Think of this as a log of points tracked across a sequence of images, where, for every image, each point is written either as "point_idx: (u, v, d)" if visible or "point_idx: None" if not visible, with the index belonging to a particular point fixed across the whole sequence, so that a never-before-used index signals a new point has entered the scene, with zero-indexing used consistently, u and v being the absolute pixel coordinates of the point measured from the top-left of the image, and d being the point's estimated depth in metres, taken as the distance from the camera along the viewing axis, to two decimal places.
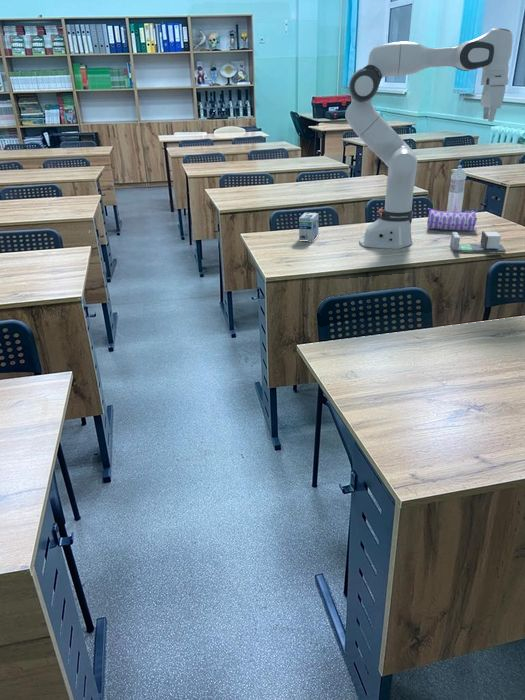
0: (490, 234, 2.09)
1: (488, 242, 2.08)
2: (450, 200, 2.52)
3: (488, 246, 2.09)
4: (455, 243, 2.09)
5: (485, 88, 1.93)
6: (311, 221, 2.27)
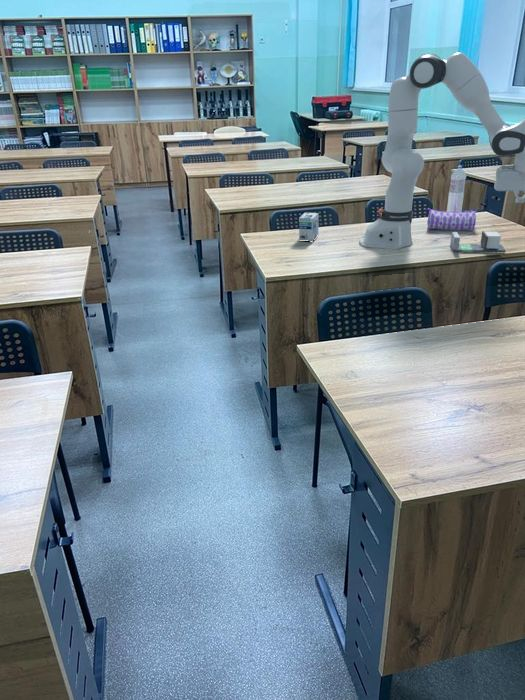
0: (490, 234, 2.09)
1: (488, 242, 2.08)
2: (450, 200, 2.52)
3: (488, 246, 2.09)
4: (455, 243, 2.09)
5: None
6: (311, 221, 2.27)
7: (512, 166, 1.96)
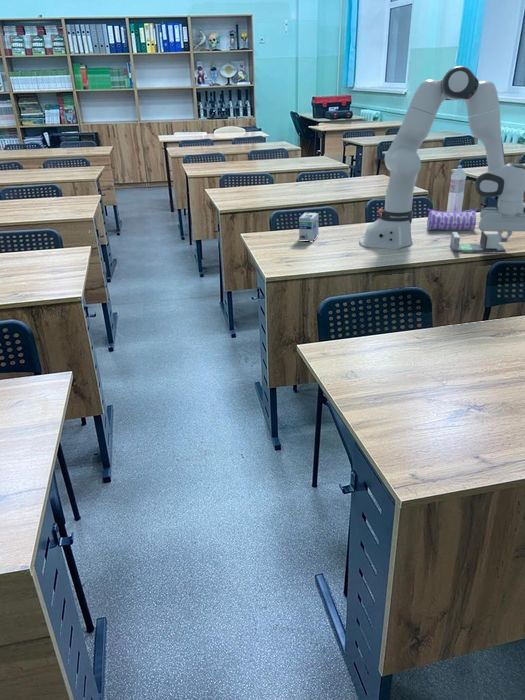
0: (489, 234, 2.09)
1: (487, 242, 2.08)
2: (450, 200, 2.52)
3: (487, 246, 2.09)
4: (455, 243, 2.09)
5: (513, 216, 2.02)
6: (311, 221, 2.27)
7: (495, 208, 2.04)
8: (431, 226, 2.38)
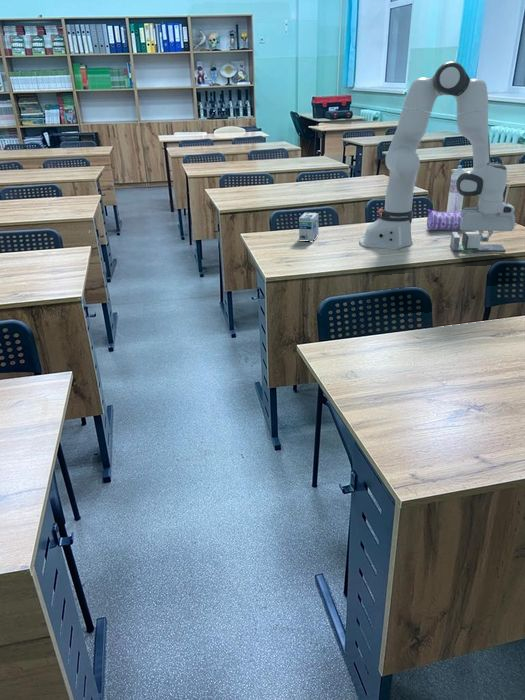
0: (470, 234, 2.10)
1: (468, 242, 2.09)
2: (450, 200, 2.52)
3: (469, 246, 2.10)
4: (455, 243, 2.09)
5: (493, 215, 2.03)
6: (311, 221, 2.27)
7: (476, 207, 2.05)
8: (432, 227, 2.37)
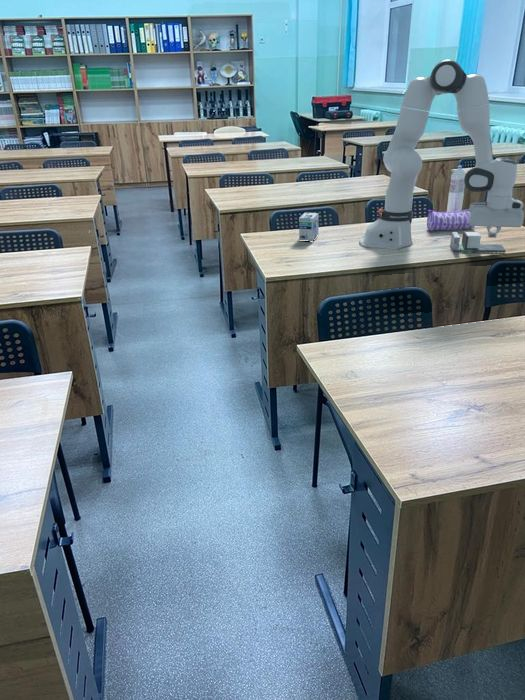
0: (470, 234, 2.10)
1: (468, 242, 2.09)
2: (450, 200, 2.52)
3: (468, 246, 2.10)
4: (455, 243, 2.09)
5: (502, 211, 2.01)
6: (311, 221, 2.27)
7: (484, 203, 2.03)
8: (434, 227, 2.37)
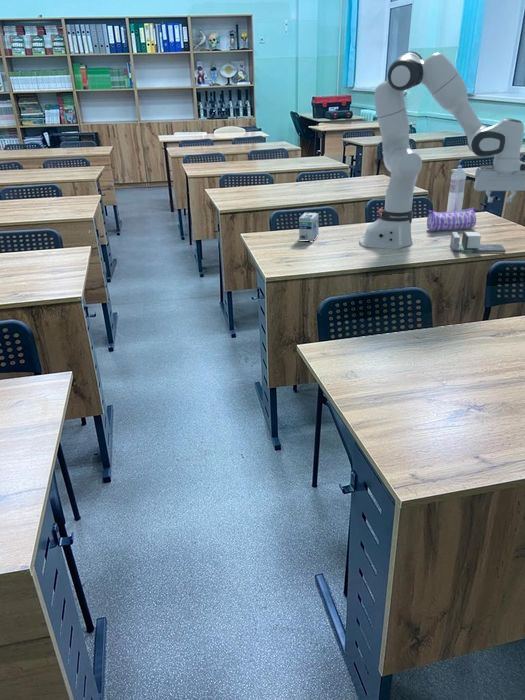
0: (470, 234, 2.10)
1: (468, 242, 2.09)
2: (450, 200, 2.52)
3: (468, 246, 2.10)
4: (455, 243, 2.09)
5: (509, 174, 1.95)
6: (311, 221, 2.27)
7: (491, 166, 1.97)
8: (435, 227, 2.36)
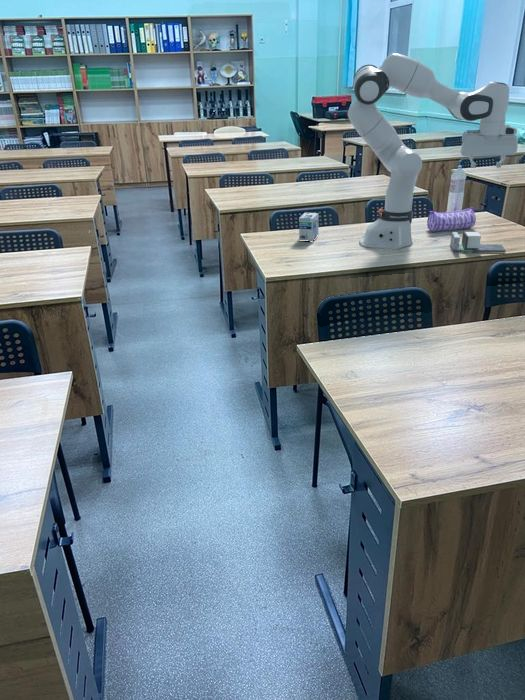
0: (470, 234, 2.10)
1: (468, 242, 2.09)
2: (450, 200, 2.52)
3: (468, 246, 2.10)
4: (455, 243, 2.09)
5: (495, 138, 1.97)
6: (311, 221, 2.27)
7: (477, 130, 1.99)
8: (437, 228, 2.35)
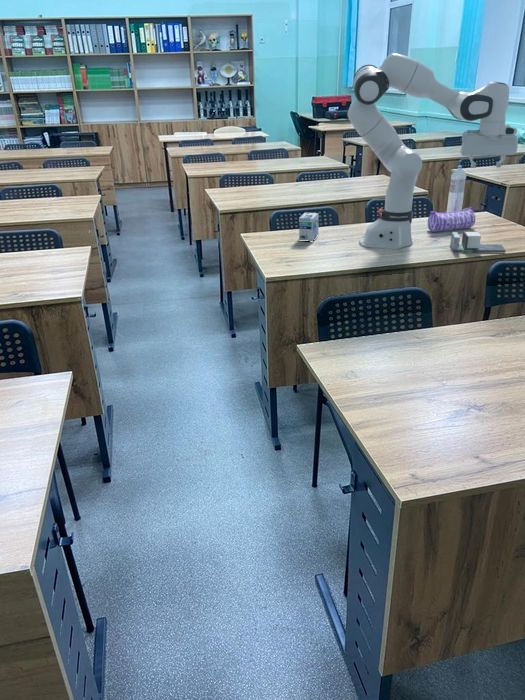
0: (470, 234, 2.10)
1: (468, 242, 2.09)
2: (450, 200, 2.52)
3: (468, 246, 2.10)
4: (455, 243, 2.09)
5: (495, 138, 1.97)
6: (311, 221, 2.27)
7: (477, 130, 1.99)
8: (438, 228, 2.35)
